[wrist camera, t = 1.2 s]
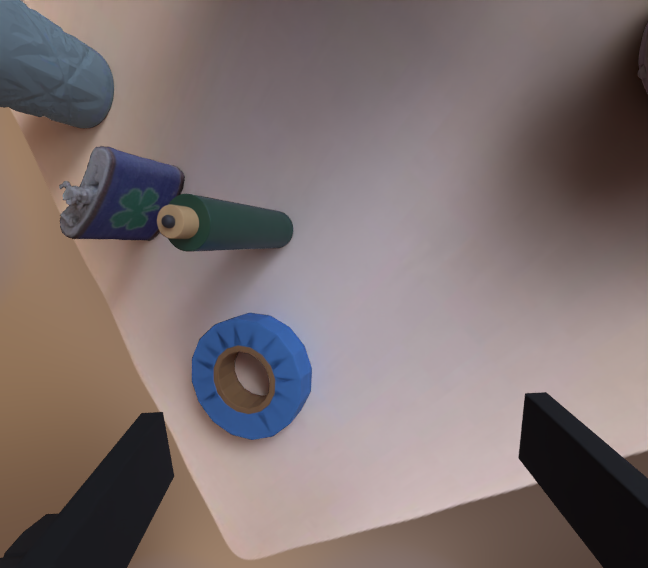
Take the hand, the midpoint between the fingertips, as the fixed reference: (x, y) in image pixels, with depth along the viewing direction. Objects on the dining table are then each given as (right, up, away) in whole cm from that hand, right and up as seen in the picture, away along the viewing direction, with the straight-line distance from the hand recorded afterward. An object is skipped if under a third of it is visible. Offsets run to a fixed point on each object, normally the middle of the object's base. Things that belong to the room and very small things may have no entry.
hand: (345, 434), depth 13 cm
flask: (-18, +14, +25) cm, 34 cm away
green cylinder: (-5, +11, +21) cm, 25 cm away
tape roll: (-8, -3, +24) cm, 25 cm away
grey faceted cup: (-28, +28, +27) cm, 48 cm away
